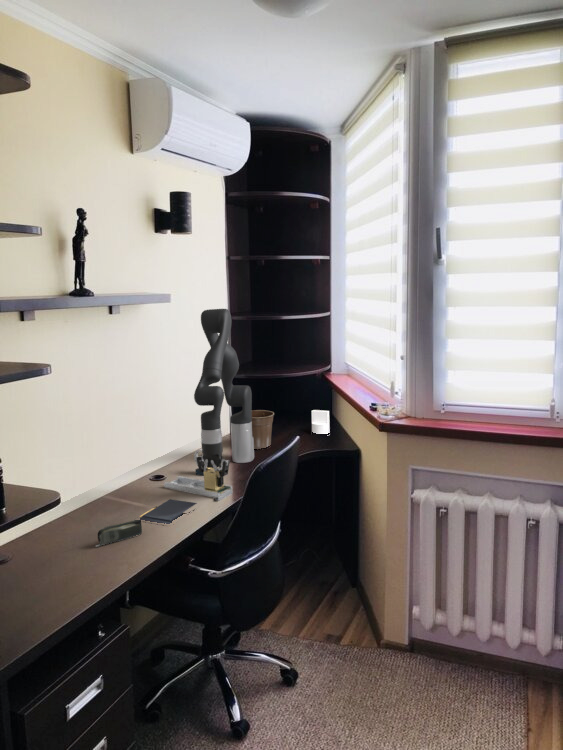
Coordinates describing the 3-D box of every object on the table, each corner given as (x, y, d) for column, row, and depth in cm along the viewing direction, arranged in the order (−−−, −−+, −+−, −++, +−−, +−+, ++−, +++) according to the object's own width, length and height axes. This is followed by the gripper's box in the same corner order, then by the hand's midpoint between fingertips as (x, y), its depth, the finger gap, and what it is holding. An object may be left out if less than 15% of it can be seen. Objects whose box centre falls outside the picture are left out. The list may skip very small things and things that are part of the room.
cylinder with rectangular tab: (309, 435, 292) (308, 412, 290) (315, 431, 300) (314, 408, 298) (326, 436, 288) (325, 413, 286) (332, 432, 296) (331, 409, 295)
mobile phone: (138, 517, 182) (91, 529, 173) (142, 520, 180) (95, 532, 171) (139, 532, 183) (92, 545, 174) (143, 535, 180) (96, 548, 171)
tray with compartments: (179, 483, 227) (178, 475, 226) (232, 493, 213) (232, 485, 213) (164, 489, 220) (163, 482, 219) (218, 501, 206) (217, 493, 206)
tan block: (213, 485, 215) (212, 467, 214) (223, 487, 213) (222, 469, 212) (204, 489, 211) (203, 471, 210) (215, 492, 208) (214, 473, 207)
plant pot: (281, 443, 278) (280, 411, 276) (265, 452, 264) (263, 418, 262) (252, 440, 286) (250, 408, 283) (234, 449, 272) (233, 415, 269)
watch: (208, 478, 231) (207, 452, 229) (192, 476, 235) (190, 450, 233) (216, 474, 236) (215, 448, 234) (200, 472, 239) (199, 446, 238)
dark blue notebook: (169, 523, 185) (132, 516, 192) (169, 528, 186) (132, 521, 192) (204, 501, 203) (168, 495, 210) (204, 506, 203) (169, 501, 210)
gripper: (233, 440, 208) (236, 485, 211) (203, 435, 216) (205, 479, 219) (221, 445, 202) (223, 491, 205) (189, 440, 210) (192, 485, 212)
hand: (214, 485), depth 212 cm, fingers closed on tan block, 5 cm apart
